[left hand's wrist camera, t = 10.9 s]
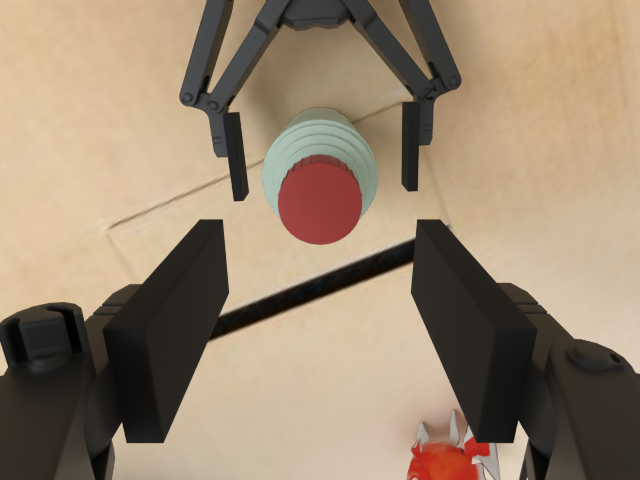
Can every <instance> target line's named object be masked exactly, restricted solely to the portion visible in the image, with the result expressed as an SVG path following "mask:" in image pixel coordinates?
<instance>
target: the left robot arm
mask: <svg viewBox="0 0 640 480" xmlns="http://www.w3.org/2000/svg"><path fill="white" fill-rule="evenodd" d="M228 294H229V286H228V274H227V263H226V251H225V240H224V228H223V220H199V221H198V222H197V223H196V224H195V226H194V227H193V228H192V229H191V230H190V231H189V232H188V233H187V235H186V236H185V237H184V238H183V239H182V240H181V241H180V242H179V243H178V245H177V246H176V247H175V248H174V249H173V250H172V251H171V252H170V254H169V255H168V256H167V257H166V258H165V259H164V260H163V261H162V263H161V264H160V265H159V266H158V267H157V268H156V269H155V270H154V272H153V273H152V274H151V275H150V276H149V277H148V278H147V279H146V281H145V282H144V283H143V284H129V285H128V286H126V287H124V288H122V289H120V290H118V291H117V292H115V293H113V294H112V295H111V296H110V297H109V298H108V299H107V300H106V301H105V302H104V303H103V304H102V306H100V307H99V308H98V309H97V310H96V311H95V312H94V313H93V316H90V317H89V318H88V319H87V320H86V321H85V322H84V318H83V313H82V309H81V308H80V307H79V306H77V305H76V304H72V303H66V302H59V303H47V304H43V305H38V306H33V307H30V308H28V309H25V310H22V311H19V312H17V313H15V314H13V315H11V316H9V317H8V318H6V319H4V320H3V321H2V322H1V323H0V342H1V345H2V349H3V352H4V355H5V358H6V361H7V364H8V368H7V370H6V372H5V374H4V375H3V376H0V480H112V475H113V468H114V461H115V454H114V447H113V443H112V438H113V436H114V434H115V433H116V431H117V429H118V428H119V426H120V424H121V422H122V424H123V428H124V433H125V438H126V442H127V443H164V441H165V438H166V436H167V434H168V432H169V429H170V427H171V425H172V422H173V420H174V418H175V416H176V413H177V411H178V409H179V406H180V404H181V402H182V399H183V397H184V395H185V393H186V390H187V388H188V386H189V383H190V381H191V379H192V377H193V374H194V372H195V370H196V367H197V365H198V363H199V361H200V358H201V356H202V354H203V351H204V349H205V347H206V345H207V342H208V340H209V338H210V335H211V333H212V331H213V329H214V326H215V324H216V322H217V319H218V317H219V315H220V313H221V310H222V308H223V306H224V303H225V301H226V299H227V296H228ZM411 294H412V296H413V299H414V301H415V303H416V306H417V308H418V310H419V313H420V315H421V317H422V319H423V322H424V324H425V326H426V329H427V331H428V333H429V335H430V338H431V340H432V342H433V345H434V347H435V349H436V351H437V354H438V356H439V358H440V361H441V363H442V365H443V367H444V370H445V372H446V374H447V377H448V379H449V381H450V383H451V386H452V388H453V390H454V393H455V395H456V397H457V399H458V402H459V404H460V406H461V409H462V411H463V413H464V416H465V418H466V420H467V422H468V425H469V427H470V429H471V432H472V434H473V436H474V438H475V441H476V443H513V442H514V438H515V433H516V428H517V424H518V420H519V422H520V424H521V425H522V427H523V429H524V430H525V432H526V434H527V436H528V437H529V439H528V443H527V447H526V452H525V456H524V460H523V465H522V469H521V473H520V478H519V480H526V479H527V478H528V480H640V374H638V373H635V371H634V369H633V368H632V366H631V365H630V364H629V363H628V362H627V361H626V359H625V358H624V357H622V356H621V355H619V354H618V353H616V352H614V351H613V350H611V349H609V348H607V347H604V346H602V345H599V344H597V343H594V342H590V341H586V340H582V339H574V338H573V337H572V336H571V335H570V334H569V333H568V332H567V331H566V330H565V329H564V328H563V327H562V326H561V325H560V324H559V323H558V322H557V321H556V320H555V319H554V318H553V317H552V316H551V315H550V314H547V311H546V310H545V309H544V308H543V307H542V306H541V305H538V302H537V301H536V300H535V299H534V298H533V297H532V296H531V295H530V294H529V293H528V292H526V291H525V290H523V289H521V288H519V287H517V286H515V285H513V284H512V283H496V282H495V281H494V279H493V278H492V277H491V276H490V275H489V274H488V273H487V272H486V270H485V269H484V268H483V267H482V266H481V265H480V264H479V263H478V261H477V260H476V259H475V258H474V257H473V256H472V255H471V254H470V252H469V251H468V250H467V249H466V248H465V247H464V246H463V245H462V243H461V242H460V241H459V240H458V239H457V238H456V237H455V236H454V235H453V233H452V232H451V231H450V230H449V229H448V228H447V227H446V226H445V224H444V223H443V222H442V221H441V220H436V219H435V220H417V228H416V240H415V251H414V263H413V274H412V286H411Z"/></svg>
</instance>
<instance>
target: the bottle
mask: <svg viewBox="0 0 640 480" xmlns="http://www.w3.org/2000/svg"><path fill="white" fill-rule="evenodd" d="M319 154H321V155H328V156H329V155H330V156H332V157H335V158H339V160H340V161H342V162H343V163H346V164H347V166H348V167H349V168H350V170H352V171H353V173H354V176H355V178H357V181H358V183H359V186H360V191H361V194H362V211H361V215H360V218H361V217H362V216H363V215H364V214H365V213H366V211H367V210H368V208H369V207H370V205H371V203H372V201H373V199H374V197H375V194H376V190H377V185H378V169H377V163H376V160H375V157H374V155H373V152H372V150H371V148H370V147H369V145H368V144H367V142H366V141H365V140H364V139H363V137H362V136H361V135H360V134H359V132H358V131H357V130H356V129H355V127H354V126H353V125H352V124H351V123H350V121H349V120H348V119H347V118H346V117H345V116H344V115H342V114H341V113H339V112H337V111H335V110H333V109H330V108H325V107H316V108H310V109H307V110H305V111H303V112H301V113H299V114H298V115H296V116H295V117H294V118H293V119H292V120H291V121H290V123H289V124H288V125H287V126H286V128H285V129H284V130H283V131H282V133H281V134H280V135H279V136H278V137H277V139H276V140H275V141H274V142H273V144H272V145H271V147H270V149H269V150H268V152H267V155H266V157H265V160H264V164H263V169H262V184H263V190H264V194H265V197H266V199H267V201H268V203H269V205H270V207H271V208H272V210H273V211H274V212H275V214H276V215H277V216H278V217H279V218H280V215H279V211H278V197H279V196H278V193H279V191H280V188H281V187H280V186H281V183H282V181H283V178H284V177H285V176H286V174H287V171H288V169H289V170H290V168H291V167H292V166H293V165H294V163H297V162H298V161H299V160H301V158H305V157H308V156H310V155H319ZM360 218H359V219H360ZM280 219H281V218H280Z"/></svg>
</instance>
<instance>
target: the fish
mask: <svg viewBox="0 0 640 480" xmlns="http://www.w3.org/2000/svg"><path fill="white" fill-rule="evenodd" d="M429 439H430V435H429V433H428V431H427V430H426V428H425V426H424V424H423V423H420V424H419V427H418V431H417V441H416V442H415V444H414V445H413V446H412V449H411V451H412V453H413V458H412V460H411V462H410V466H409V470H408V474H407V480H486V478H485V476H484V467H485V468H486V469H487V471H488V472H489V473H490V475H491V476H492V477H493V478H494V480H501V479H500V471H499V463H498V455H497V448H496V443H476V441H475V438H474V436H473V434H472V432H471V429H470V427H469V425H468V424H467V430H466V435H465V438H464V442H463V446H462V448H457V445H458V443H459V439H460V438H459V432H458V427H457V422H456V416H455V410H453V413H452V418H451V423H450V436H449V440H448V442H447V443H445V442H442V441H429ZM472 457H473V458H475V459H477V460H480V461H481V462H482V463H477V464H472ZM471 464H472V465H471ZM483 465H484V467H483Z"/></svg>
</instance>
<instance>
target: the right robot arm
mask: <svg viewBox="0 0 640 480" xmlns="http://www.w3.org/2000/svg"><path fill="white" fill-rule="evenodd" d="M233 2H234V0H207V2H206V6H205V9H204V13H203V16H202V19H201V23H200V26H199V30H198V33H197V37H196V40H195V44H194V47H193V50H192V54H191V57H190V61H189V64H188V68H187V71H186V74H185V78H184V81H183V85H182V88H181V92H180V97H179V98H180V101H181V103H182V104H183V105H185V106H191V107H194V108H197V109H200V110H203V111H204V112H206V114H207V115H208V117H209V121H210V128H211V135H212V142H213V148H214V152H215V154H216V156H217V157H228V161H229V169H230V176H231V183H232V191H233V198H234V201H244V199H245V198H246V196H247V195H248V193H249V188H248V180H247V172H246V163H245V155H244V147H243V139H242V131H241V122H240V114H239V112H233V113H229V112H228V110H229V109H230V108H229V106H230V105H231V103H232V102H233V100H234V98H235V97H236V95H237V94H238V92H239V91H240V89H241V88H242V86H243V84H244V83H245V81H246V80H247V78H248V77H249V75H250V74H251V72H252V70H253V69H254V67H255V66H256V64H257V63H258V61H259V60H260V58H261V56H262V55H263V53H264V52H265V50H266V49H267V47H268V46H269V44H270V42H271V41H272V40H273V39H274V37H275V36H276V35H277V33H278V32H279V30H280V29H281V27H282V26H283V24H285V25H286V26H287V27H289V28H291V29H295V31H300V30H307V29H310V28H313V27H316V26H317V27H322V28H326V29H331V28H338V26H341V25H342V24H344V23H345V22H346V21H347V20H349V21H350V22H351V24H352V25H353V26H354V27H355V29H356V30H357V31H358V32H359V33H361V34H362V35H363V37H364V38H365V39H366V40H367V42H368V43H369V44H370V45H371V46H372V48H373V49H374V50H375V51H376V52H377V54H378V55H379V56H380V57H381V58H382V60H383V61H384V62H385V63H386V65H387V66H388V67H389V68H390V69H391V71H392V72H393V73H394V74H395V75H396V77H397V78H398V79H399V80H400V82H401V83H402V84H403V85H404V86H405V88H406V89H407V90H408V91H409V92H410V94H411V95H412V96H413V102H402V185H403V186H404V187H405V189H406V190H407V191H418V158H419V146H420V145H430V142H431V140H432V132H433V131H432V130H433V106H434V102H435V100H436V98H437V97H438V96H440V95H442V94H444V93H446V92H449V91H451V90H455V89H457V88H458V87H459V86H460V84H461V76H460V74H459V72H458V69H457V67H456V65H455V62H454V60H453V57H452V55H451V53H450V50H449V48H448V46H447V43H446V41H445V38H444V36H443V34H442V31H441V29H440V27H439V24H438V22H437V20H436V17H435V15H434V12H433V10H432V8H431V5H430V3H429V1H428V0H399V3H400V5H401V7H402V10H403V12H404V14H405V16H406V19H407V21H408V23H409V25H410V28H411V30H412V32H413V34H414V37H415V39H416V41H417V43H418V46H419V48H420V50H421V52H422V55H423V57H424V59H425V61H426V64H427V66H428V68H429V70H430V73H431V75H432V77H433V78H432V79H430V80H428V78H427V77H426V76H425V75H424V73H423V72H422V71H421V70H420V68H419V67H418V66H417V65H416V63H415V62H414V61H413V60H412V58H411V57H410V56H409V55H408V53H407V52H406V51H405V50H404V48H403V47H402V46H401V45H400V43H399V42H398V41H397V40H396V38H395V37H394V36H393V35H392V33H391V32H390V31H389V30H388V28H387V27H386V26H385V25H384V23H383V22H382V21H381V20H380V18H379V17H378V15H377V13H376V11H375V10H374V9H373V7H372V6H371V5H370V3H369V2H368V1H367V0H266V3H265V5H264V6H263V8H262V9H261V11H260V13H259V14H258V16H257V18H256V20H255V23H254V25H253V27H252V28H251V30H250V32H249V33H248V35H247V36H246V38H245V40H244V41H243V43H242V44H241V46H240V48H239V49H238V51H237V52H236V54H235V56H234V57H233V59H232V61H231V62H230V64H229V65H228V67H227V69H226V70H225V72H224V73H223V75H222V77H221V78H220V80H219V81H218V83H217V85H216V86H215V88H214V90H213V91H212V93H208V92H207V90H208V87H209V84H210V81H211V77H212V74H213V71H214V68H215V65H216V61H217V58H218V55H219V52H220V49H221V45H222V42H223V39H224V36H225V33H226V29H227V26H228V23H229V20H230V17H231V13H232V9H233Z"/></svg>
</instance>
